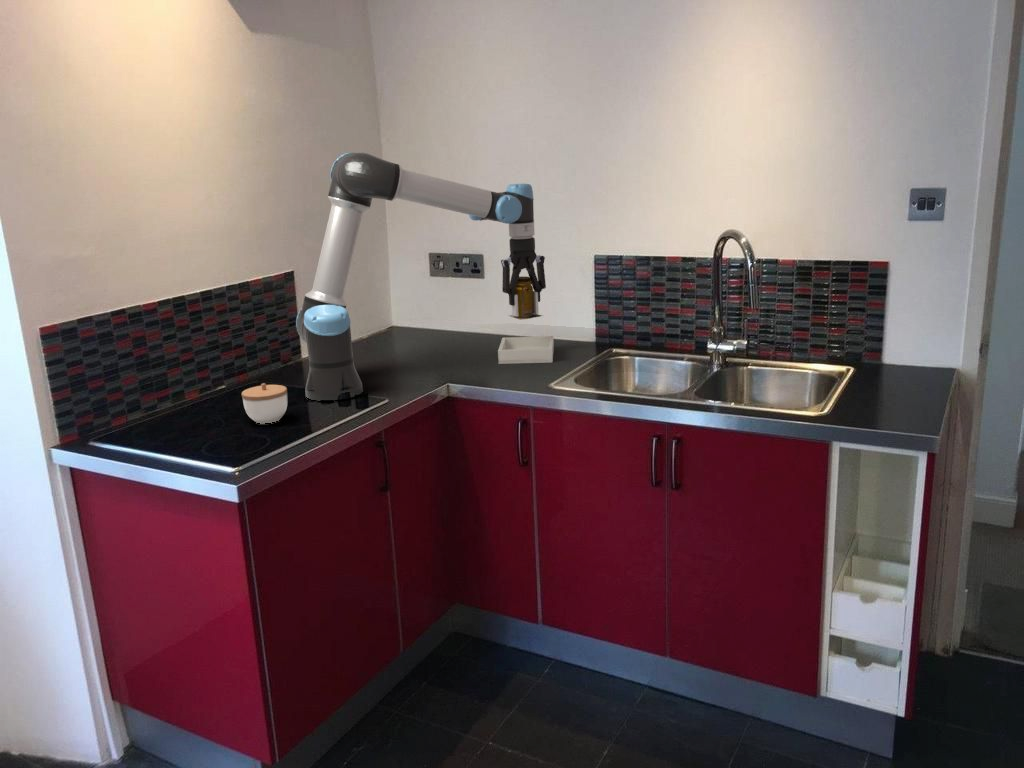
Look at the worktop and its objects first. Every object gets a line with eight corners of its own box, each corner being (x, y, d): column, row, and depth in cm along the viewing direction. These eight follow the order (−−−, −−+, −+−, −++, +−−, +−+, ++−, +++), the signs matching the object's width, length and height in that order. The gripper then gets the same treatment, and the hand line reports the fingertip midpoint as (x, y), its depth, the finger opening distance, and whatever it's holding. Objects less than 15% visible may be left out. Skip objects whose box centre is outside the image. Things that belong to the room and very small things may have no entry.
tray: (498, 363, 265) (497, 350, 264) (503, 350, 282) (502, 337, 281) (552, 362, 264) (552, 349, 263) (553, 348, 281) (553, 336, 280)
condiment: (508, 316, 272) (507, 277, 269) (531, 312, 276) (531, 274, 273) (520, 320, 266) (519, 280, 263) (544, 316, 270) (543, 277, 267)
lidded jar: (236, 423, 219) (231, 386, 216) (272, 411, 227) (267, 376, 225) (263, 429, 212) (258, 392, 210) (299, 418, 221) (295, 381, 218)
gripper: (498, 241, 256) (502, 320, 262) (556, 235, 264) (559, 312, 270) (487, 239, 263) (491, 316, 269) (544, 233, 271) (547, 308, 277)
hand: (525, 314), depth 269 cm, fingers closed on condiment, 6 cm apart
